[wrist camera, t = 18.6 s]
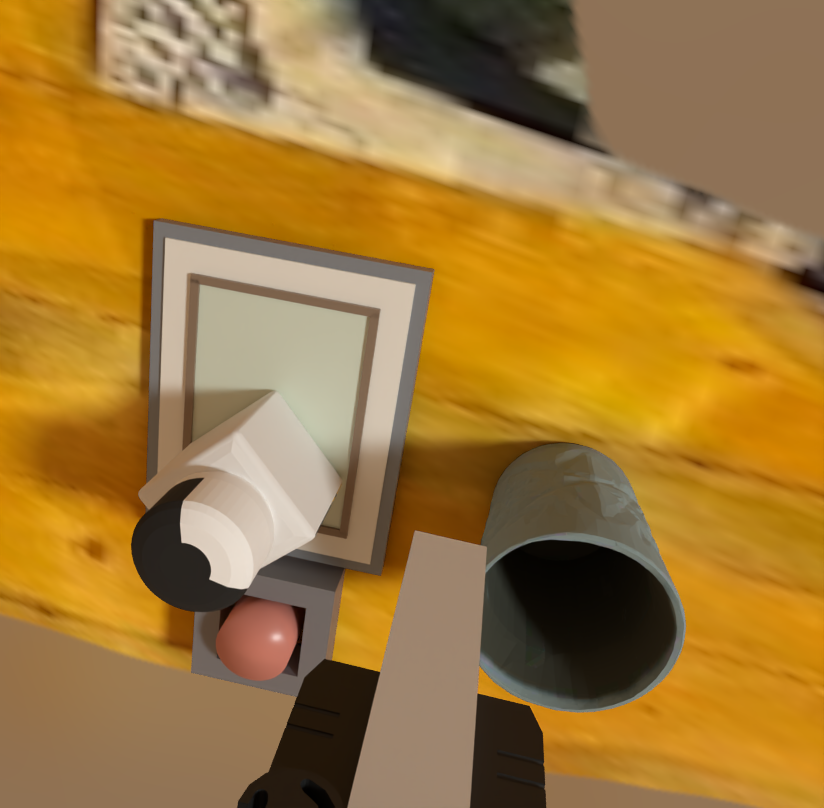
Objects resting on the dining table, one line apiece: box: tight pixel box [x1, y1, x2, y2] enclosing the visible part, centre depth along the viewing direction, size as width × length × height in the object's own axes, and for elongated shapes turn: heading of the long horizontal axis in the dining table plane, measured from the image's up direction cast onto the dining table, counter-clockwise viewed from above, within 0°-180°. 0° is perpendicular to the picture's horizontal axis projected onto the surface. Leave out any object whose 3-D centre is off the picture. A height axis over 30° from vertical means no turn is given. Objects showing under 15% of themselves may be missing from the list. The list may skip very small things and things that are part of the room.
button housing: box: [191, 555, 345, 697], centre depth 49 cm, size 9×9×3 cm
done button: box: [216, 595, 306, 681], centre depth 48 cm, size 5×5×4 cm
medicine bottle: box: [131, 391, 342, 612], centre depth 40 cm, size 7×7×12 cm
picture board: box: [146, 219, 434, 576], centre depth 45 cm, size 16×20×2 cm
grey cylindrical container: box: [479, 443, 686, 712], centre depth 40 cm, size 10×10×12 cm
